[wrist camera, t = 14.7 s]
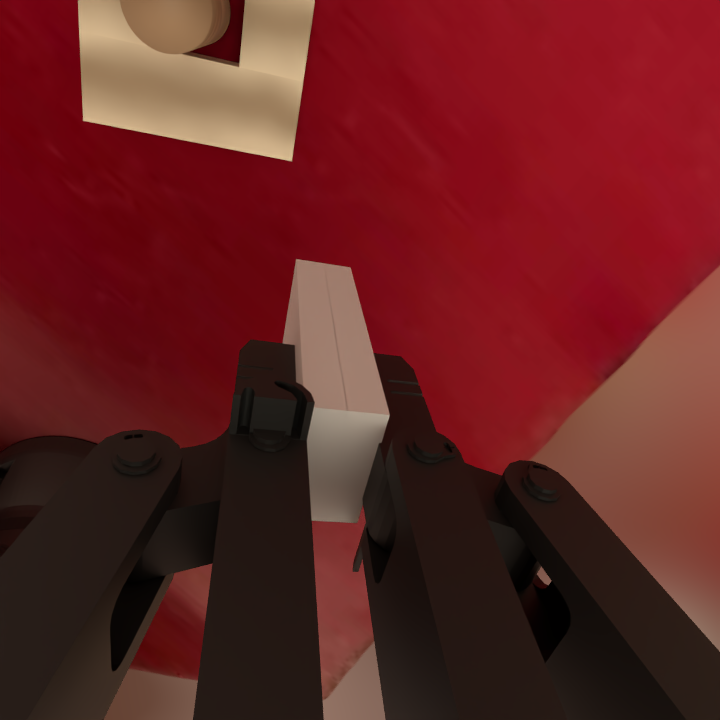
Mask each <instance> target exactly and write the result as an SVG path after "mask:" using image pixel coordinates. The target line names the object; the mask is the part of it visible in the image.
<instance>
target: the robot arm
mask: <svg viewBox="0 0 720 720" xmlns="http://www.w3.org/2000/svg"><path fill="white" fill-rule="evenodd" d="M362 505H363V506H364V512H365V518H366V524H365V527H364V530H363V533H362V537H361V540H360V543H359V546H358V549H357V552H356V556H355V559H354V563H353V572H358V571H359V568H360V565H361V561H362V559H363V564H364V571H365V578H366V585H367V592H368V599H369V606H370V613H371V620H372V627H373V634H374V641H375V648H376V655H377V662H378V669H379V676H380V683H381V690H382V696H383V704H384V711H385V718H386V720H720V652H719V650H718V649H717V648H716V647H715V646H714V645H713V644H712V643H711V641H710V640H709V639H708V638H707V637H706V636H705V635H704V634H703V633H702V631H701V630H700V629H699V628H698V627H697V626H696V625H695V623H694V622H693V621H692V620H691V619H690V618H689V617H688V616H687V614H686V613H685V612H684V611H683V610H682V609H681V608H680V607H679V605H678V604H677V603H676V602H675V601H674V600H673V599H672V598H671V596H670V595H669V594H668V593H667V592H666V591H665V590H664V589H663V587H662V586H661V585H660V584H659V583H658V582H657V581H656V580H655V578H653V576H652V575H651V574H650V573H649V572H648V571H647V569H646V568H645V567H644V566H643V565H642V564H641V563H640V562H639V560H637V558H636V557H635V556H634V555H633V554H632V553H631V551H630V550H629V549H628V548H627V547H626V546H625V545H624V544H623V543H622V541H621V540H620V539H619V538H618V537H617V536H616V535H615V533H614V532H613V531H612V530H611V529H610V528H609V527H608V526H607V524H606V523H605V522H604V521H603V520H602V519H601V518H600V517H599V516H598V514H597V513H596V512H595V511H594V510H593V509H592V508H591V507H590V505H589V504H588V503H587V502H586V501H585V500H584V499H583V497H582V496H581V495H580V494H579V493H578V492H577V491H576V490H575V488H574V487H573V486H572V485H571V484H570V483H569V482H568V481H567V480H566V479H565V478H564V477H562V476H561V475H560V474H559V473H558V472H556V471H554V470H552V469H551V468H549V467H547V466H545V465H542V464H539V463H536V462H533V461H522V460H519V461H516V462H513V463H510V464H509V465H508V467H507V468H506V469H505V471H504V473H503V475H502V476H501V475H498V474H495V473H492V472H489V471H486V470H483V469H479V468H476V467H474V466H471V465H469V464H466V463H464V460H463V458H462V455H461V453H460V452H459V450H458V449H457V447H456V445H455V444H454V443H453V442H451V441H450V440H449V439H448V438H446V437H445V436H444V435H441V434H439V433H437V432H436V429H435V427H434V424H433V421H432V419H431V416H430V413H429V410H428V408H427V405H426V402H425V399H424V397H422V391H421V389H420V386H418V380H417V378H416V375H415V372H414V370H413V368H412V367H411V366H410V365H409V364H408V363H407V362H406V361H405V360H404V359H403V358H402V357H401V356H392V355H384V354H376V353H373V350H372V346H371V343H370V339H369V335H368V331H367V328H366V324H365V320H364V316H363V313H362V309H361V305H360V301H359V298H358V294H357V290H356V286H355V283H354V279H353V275H352V271H351V268H350V267H344V266H337V265H331V264H324V263H318V262H312V261H305V260H299V259H296V264H295V270H294V276H293V282H292V289H291V295H290V301H289V307H288V313H287V319H286V325H285V332H284V338H283V343H274V342H266V341H258V340H250V341H249V342H248V343H247V344H246V345H245V346H244V347H243V348H242V349H241V350H240V354H239V362H238V369H237V377H236V385H235V392H234V394H233V402H232V411H231V420H230V424H229V427H228V429H227V430H226V431H225V432H224V434H222V435H221V436H220V437H218V438H217V439H215V440H213V441H211V442H208V443H206V444H203V445H198V446H194V447H187V448H181V449H180V447H179V445H178V444H177V443H175V442H174V441H173V440H172V439H171V438H170V437H168V436H166V435H163V434H161V433H158V432H156V431H147V430H132V431H124V432H120V433H118V434H115V435H112V436H110V437H107V438H105V439H104V440H103V441H102V442H100V443H99V444H98V445H96V444H93V443H90V442H87V441H83V440H79V439H74V438H67V437H39V438H33V439H28V440H25V441H21V442H19V443H16V444H14V445H12V446H10V447H8V448H6V449H5V450H3V451H2V452H1V453H0V720H104V717H105V715H106V713H107V711H108V709H109V707H110V705H111V703H112V701H113V699H114V697H115V695H116V693H117V691H118V689H119V687H120V685H121V683H122V681H123V679H124V677H125V675H126V673H127V670H128V669H129V667H130V664H131V662H132V660H133V658H134V656H135V654H136V652H137V650H138V648H139V646H140V644H141V642H142V640H143V638H144V636H145V634H146V632H147V630H148V628H149V626H150V624H151V622H152V620H153V618H154V616H155V613H156V611H157V609H158V607H159V605H160V603H161V601H162V599H163V597H164V595H165V593H166V591H167V589H168V587H169V585H170V583H171V581H172V579H173V575H174V573H176V572H180V571H184V570H188V569H192V568H196V567H200V566H204V565H208V564H212V563H213V565H212V573H211V581H210V589H209V597H208V605H207V613H206V621H205V629H204V636H203V644H202V652H201V660H200V668H199V676H198V685H197V692H196V700H195V708H194V717H193V720H324V719H323V703H322V685H321V669H320V652H319V635H318V619H317V602H316V585H315V569H314V552H313V535H312V521H330V522H348V523H357V522H358V519H359V515H360V512H361V509H362ZM541 566H542V568H543V569H544V570H545V572H546V573H547V575H548V576H549V577H550V579H551V580H552V581H551V583H550V584H549V585H546V584H544V583H543V582H542V580H541V579H540V578H539V577H538V575H537V573H538V571H539V569H540V567H541Z"/></svg>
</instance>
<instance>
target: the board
mask: <svg viewBox="0 0 720 720" xmlns="http://www.w3.org/2000/svg"><path fill="white" fill-rule="evenodd" d="M314 3H315V0H245V7H244V18H243V30H242V41H241V52H240V63H236V62H232V61H228V60H223V59H219V58H214V57H210V56H206V55H201V54H197V53H193V52H186V53H182V54H165V53H162V52H159V51H156V50H154V49H152V48H151V47H149V46H147V45H146V44H145V43H143V42H142V41H141V40H140V39H139V38H138V37H137V36H136V35H135V34H134V32H133V31H132V30H131V28H130V27H129V25H128V23H127V21H126V19H125V17H124V15H123V12H122V8H121V4H120V0H78V13H79V36H80V59H81V82H82V105H83V121H88V122H93V123H98V124H103V125H108V126H113V127H119V128H124V129H129V130H134V131H139V132H144V133H149V134H154V135H160V136H165V137H170V138H175V139H180V140H185V141H190V142H195V143H201V144H206V145H211V146H216V147H221V148H226V149H231V150H236V151H242V152H247V153H252V154H257V155H262V156H267V157H272V158H277V159H283V160H288V161H292V156H293V149H294V142H295V135H296V128H297V122H298V115H299V108H300V101H301V94H302V87H303V80H304V73H305V66H306V59H307V52H308V45H309V38H310V31H311V24H312V17H313V10H314Z"/></svg>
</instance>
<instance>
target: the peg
mask: <svg viewBox="0 0 720 720" xmlns="http://www.w3.org/2000/svg"><path fill="white" fill-rule="evenodd" d="M120 4H121V8H122V12H123V15H124V17H125V19H126V21H127V23H128V25H129V27H130V28H131V30H132V31H133V32H134V34H135V35H136V36H137V37H138V38H139V39H140V40H141V41H142V42H143V43H145V44H146V45H147V46H149V47H151V48H152V49H154V50H156V51H159V52H162V53H165V54H182V53H186V52H189V51H192V50H195V49H198V48H201V47H204V46H206V45H209V44H212V43H214V42H216V41H217V40H219V39H220V38H221V37H222V36H223V35H224V33H225V32H226V30H227V28H228V25H229V21H230V3H229V0H120Z"/></svg>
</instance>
